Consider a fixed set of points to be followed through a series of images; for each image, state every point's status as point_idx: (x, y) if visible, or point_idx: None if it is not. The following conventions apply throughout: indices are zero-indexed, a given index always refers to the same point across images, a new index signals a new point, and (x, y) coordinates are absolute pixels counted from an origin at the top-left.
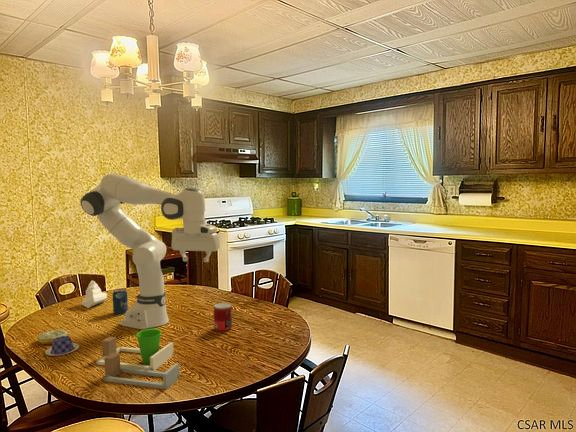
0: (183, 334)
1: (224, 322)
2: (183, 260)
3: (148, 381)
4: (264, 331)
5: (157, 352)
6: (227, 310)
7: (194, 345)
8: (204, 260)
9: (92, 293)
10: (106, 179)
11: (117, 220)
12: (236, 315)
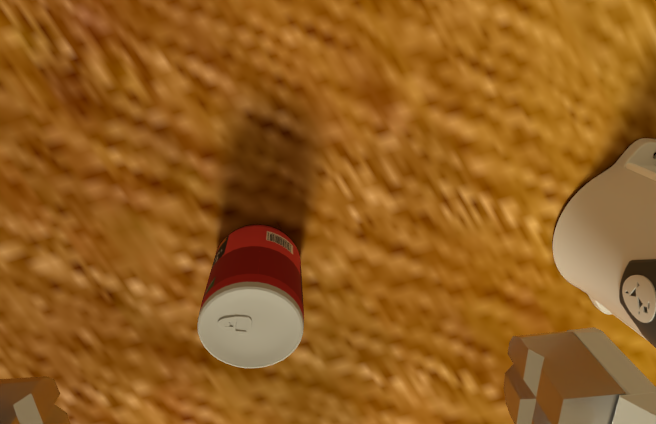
0: (409, 145)
1: (226, 250)
2: (584, 332)
3: None
4: (54, 283)
5: None
6: (205, 297)
7: (282, 35)
8: (6, 399)
9: None
10: None
11: None
12: (284, 401)
